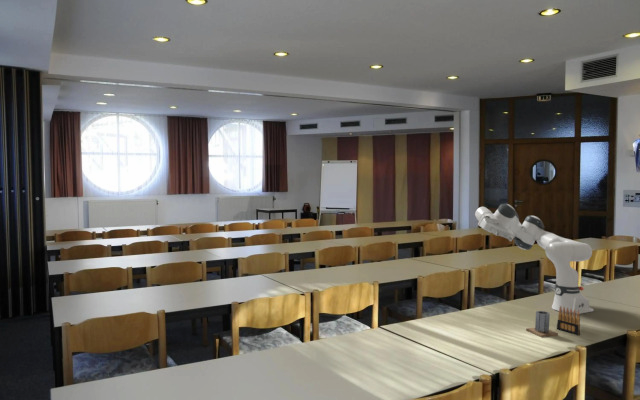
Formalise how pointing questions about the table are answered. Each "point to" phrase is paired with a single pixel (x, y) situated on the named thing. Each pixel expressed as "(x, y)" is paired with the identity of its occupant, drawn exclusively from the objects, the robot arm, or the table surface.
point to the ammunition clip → (568, 321)
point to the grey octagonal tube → (542, 321)
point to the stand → (532, 330)
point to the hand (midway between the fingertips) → (504, 237)
